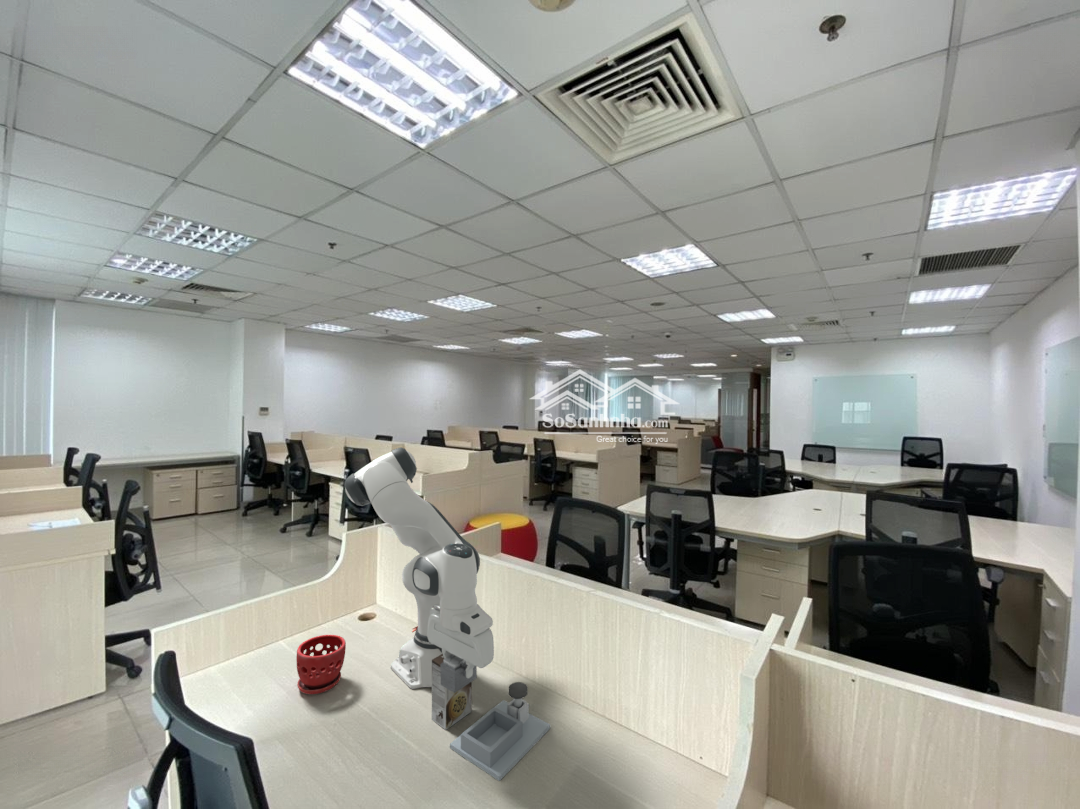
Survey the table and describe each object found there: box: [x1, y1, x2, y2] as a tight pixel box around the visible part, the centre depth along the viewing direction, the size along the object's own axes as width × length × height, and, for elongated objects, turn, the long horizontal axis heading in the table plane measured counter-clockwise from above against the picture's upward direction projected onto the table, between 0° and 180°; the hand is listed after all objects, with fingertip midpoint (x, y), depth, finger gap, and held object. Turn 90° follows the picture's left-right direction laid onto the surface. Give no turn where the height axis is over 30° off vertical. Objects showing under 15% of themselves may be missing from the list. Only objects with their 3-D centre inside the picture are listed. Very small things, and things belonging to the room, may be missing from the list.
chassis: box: [449, 698, 551, 782], centre depth 111 cm, size 16×20×5 cm
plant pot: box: [295, 634, 347, 695], centre depth 132 cm, size 13×13×12 cm
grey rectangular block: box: [440, 654, 478, 693], centre depth 106 cm, size 5×7×6 cm
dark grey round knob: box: [508, 681, 529, 708], centre depth 116 cm, size 5×5×5 cm
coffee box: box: [431, 654, 473, 730], centre depth 119 cm, size 9×6×16 cm
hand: (458, 671), depth 106 cm, fingers closed on grey rectangular block, 5 cm apart
